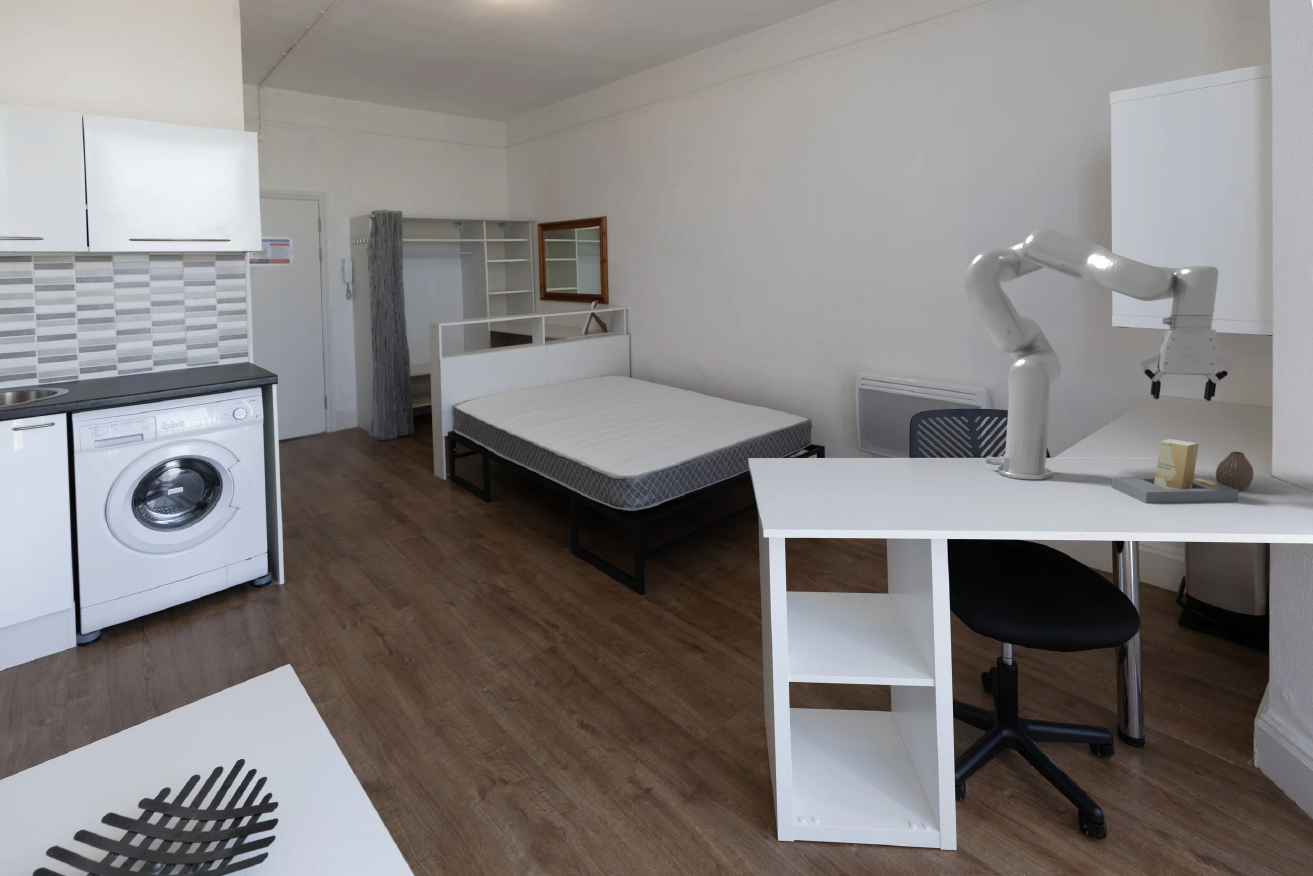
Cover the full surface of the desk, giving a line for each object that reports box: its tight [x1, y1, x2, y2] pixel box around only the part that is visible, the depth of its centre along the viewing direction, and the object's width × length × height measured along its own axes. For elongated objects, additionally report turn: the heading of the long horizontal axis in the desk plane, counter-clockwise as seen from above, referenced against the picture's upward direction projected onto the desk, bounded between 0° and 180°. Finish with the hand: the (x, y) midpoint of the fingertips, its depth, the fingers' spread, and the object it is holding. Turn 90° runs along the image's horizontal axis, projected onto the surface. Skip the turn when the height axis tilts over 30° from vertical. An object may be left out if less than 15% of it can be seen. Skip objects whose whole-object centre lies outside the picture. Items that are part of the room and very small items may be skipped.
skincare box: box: [1154, 438, 1199, 489], centre depth 165 cm, size 6×4×12 cm
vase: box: [1215, 451, 1255, 492], centre depth 168 cm, size 7×7×9 cm
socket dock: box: [1111, 474, 1240, 504], centre depth 166 cm, size 20×13×3 cm, turn 88°
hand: (1181, 399), depth 162 cm, fingers open, 9 cm apart
